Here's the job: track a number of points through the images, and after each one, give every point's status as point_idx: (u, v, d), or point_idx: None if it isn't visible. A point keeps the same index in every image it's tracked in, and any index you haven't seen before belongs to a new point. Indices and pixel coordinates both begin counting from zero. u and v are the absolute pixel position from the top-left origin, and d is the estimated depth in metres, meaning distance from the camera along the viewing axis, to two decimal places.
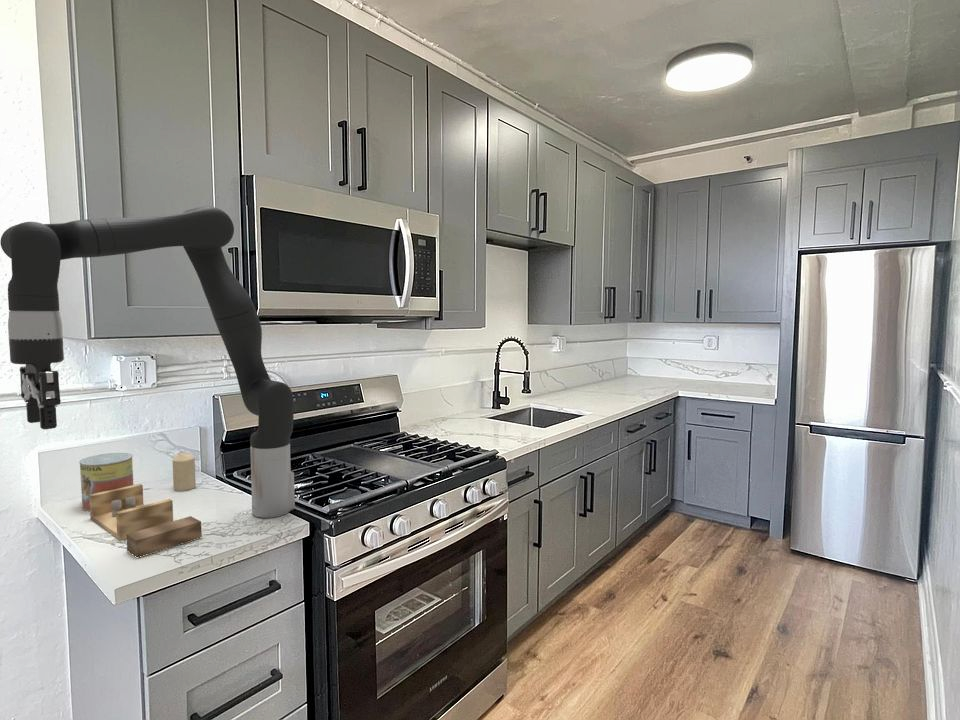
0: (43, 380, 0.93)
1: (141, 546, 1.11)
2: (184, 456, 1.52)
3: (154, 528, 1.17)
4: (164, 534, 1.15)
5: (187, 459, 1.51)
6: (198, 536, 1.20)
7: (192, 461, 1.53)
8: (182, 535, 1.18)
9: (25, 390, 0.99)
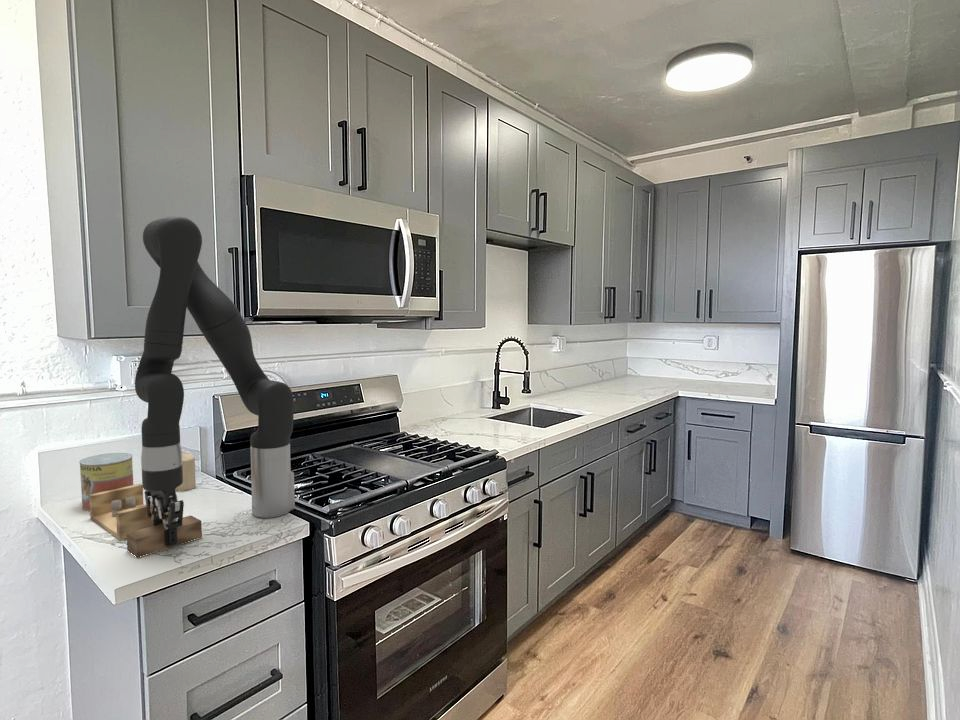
0: (172, 510, 1.12)
1: (141, 545, 1.11)
2: (184, 456, 1.52)
3: (154, 527, 1.17)
4: None
5: (187, 459, 1.51)
6: (198, 535, 1.20)
7: (192, 461, 1.53)
8: (182, 535, 1.18)
9: (153, 511, 1.17)
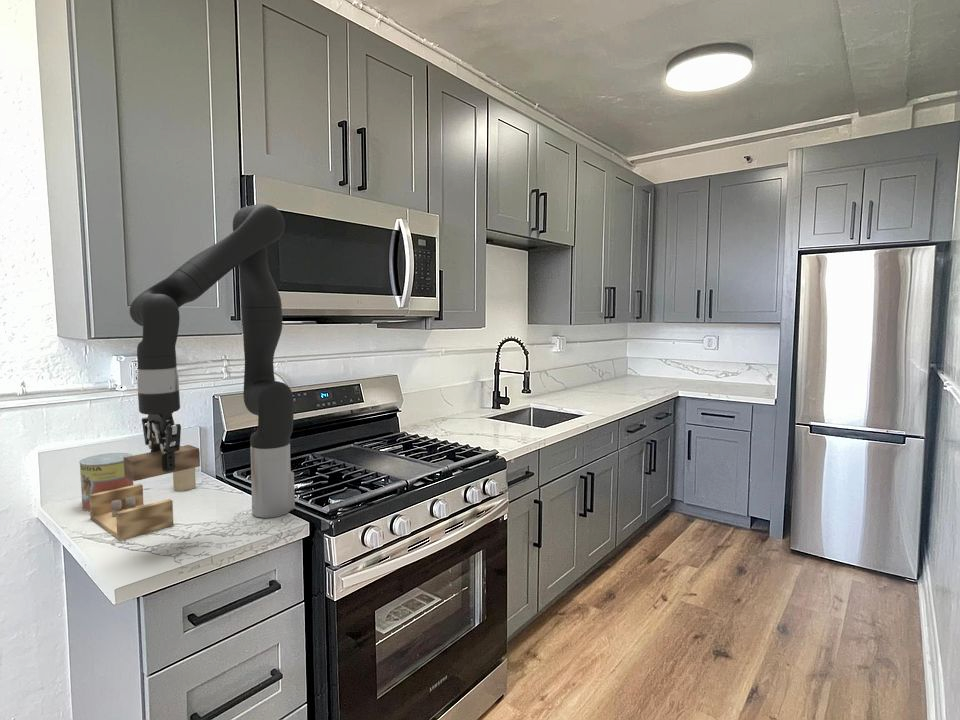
0: (169, 433, 1.10)
1: (138, 468, 1.10)
2: None
3: (151, 453, 1.15)
4: None
5: None
6: (196, 463, 1.19)
7: None
8: (179, 461, 1.16)
9: (150, 437, 1.15)
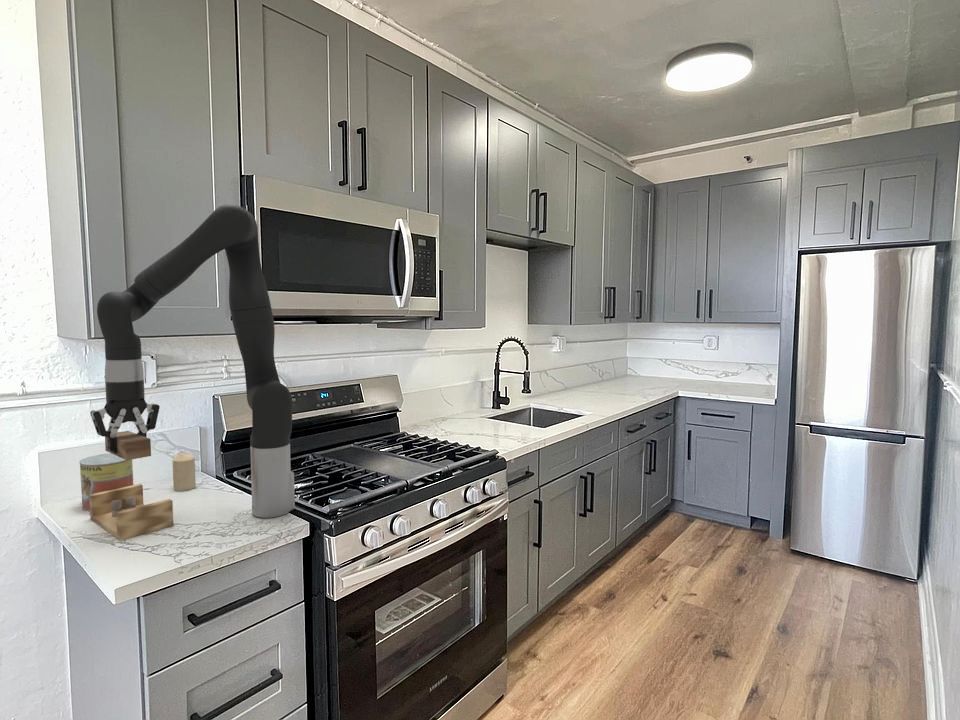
0: (92, 417, 1.22)
1: (106, 441, 1.29)
2: (184, 456, 1.52)
3: (130, 434, 1.29)
4: None
5: (187, 459, 1.51)
6: (125, 456, 1.22)
7: (192, 461, 1.53)
8: (119, 448, 1.24)
9: None
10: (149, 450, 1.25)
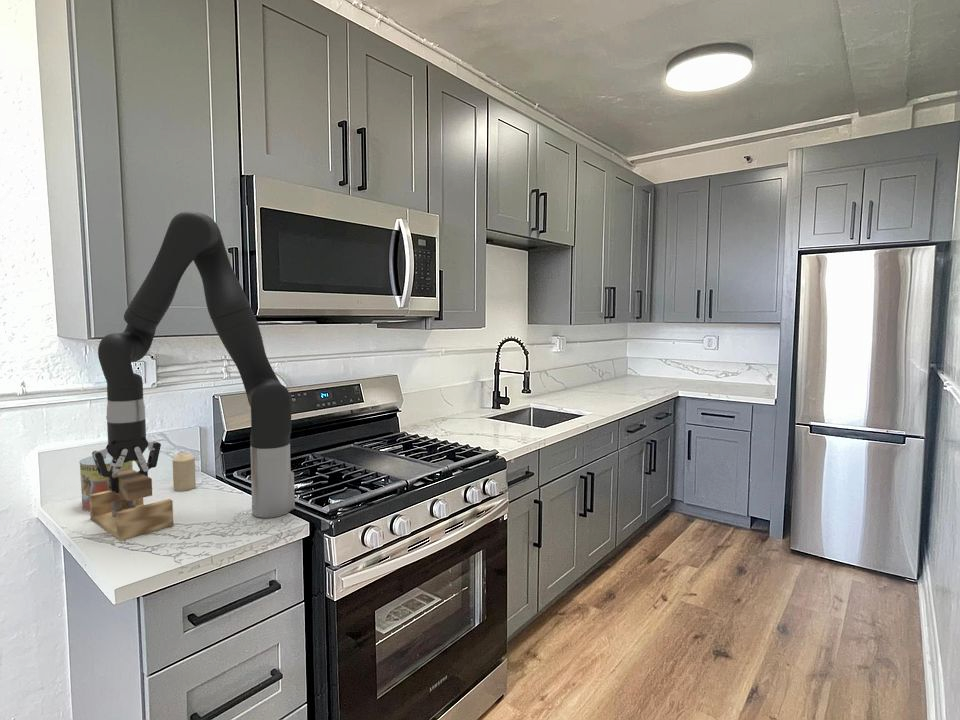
0: (94, 458, 1.23)
1: (107, 479, 1.29)
2: (184, 456, 1.52)
3: (131, 473, 1.30)
4: None
5: (187, 459, 1.51)
6: (126, 496, 1.23)
7: (192, 461, 1.53)
8: (120, 488, 1.25)
9: None
10: (150, 490, 1.26)
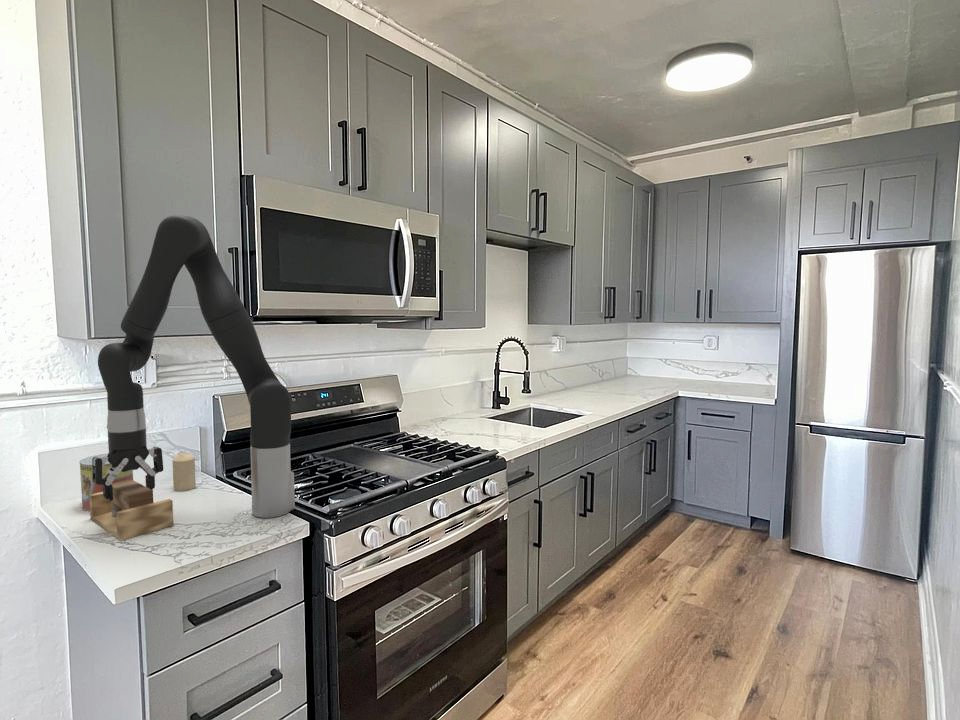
0: (92, 463, 1.23)
1: None
2: (184, 456, 1.52)
3: (133, 484, 1.30)
4: (116, 491, 1.27)
5: (187, 459, 1.51)
6: None
7: (192, 461, 1.53)
8: (122, 500, 1.25)
9: None
10: (152, 502, 1.26)
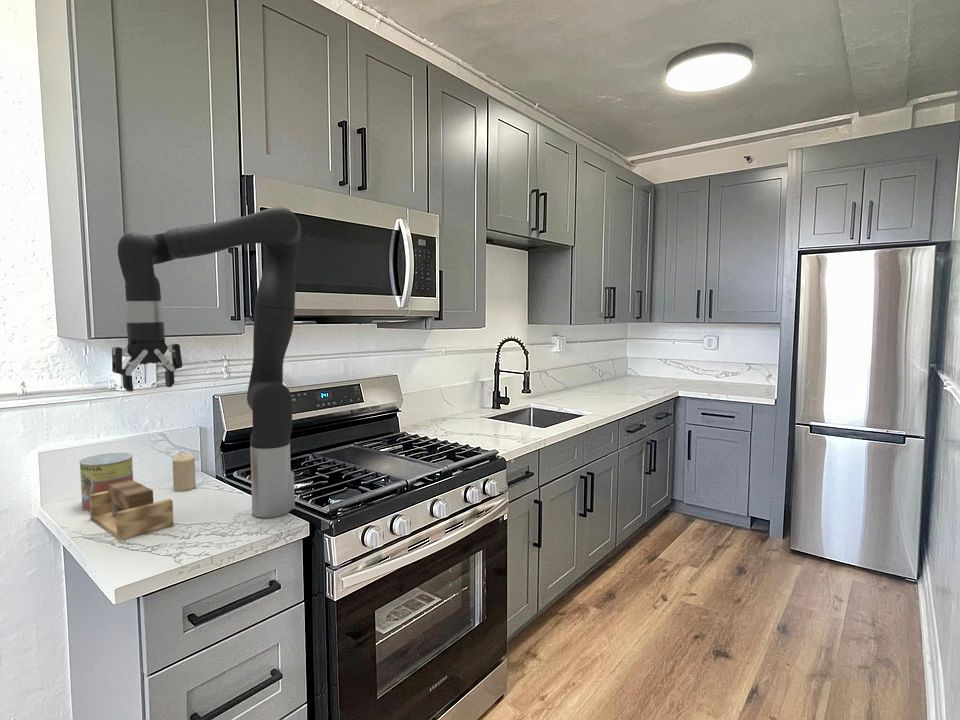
0: (112, 353, 1.23)
1: (109, 491, 1.30)
2: (184, 456, 1.52)
3: (133, 484, 1.30)
4: (116, 491, 1.27)
5: (187, 459, 1.51)
6: None
7: (192, 461, 1.53)
8: (122, 500, 1.25)
9: (157, 361, 1.31)
10: (152, 502, 1.26)
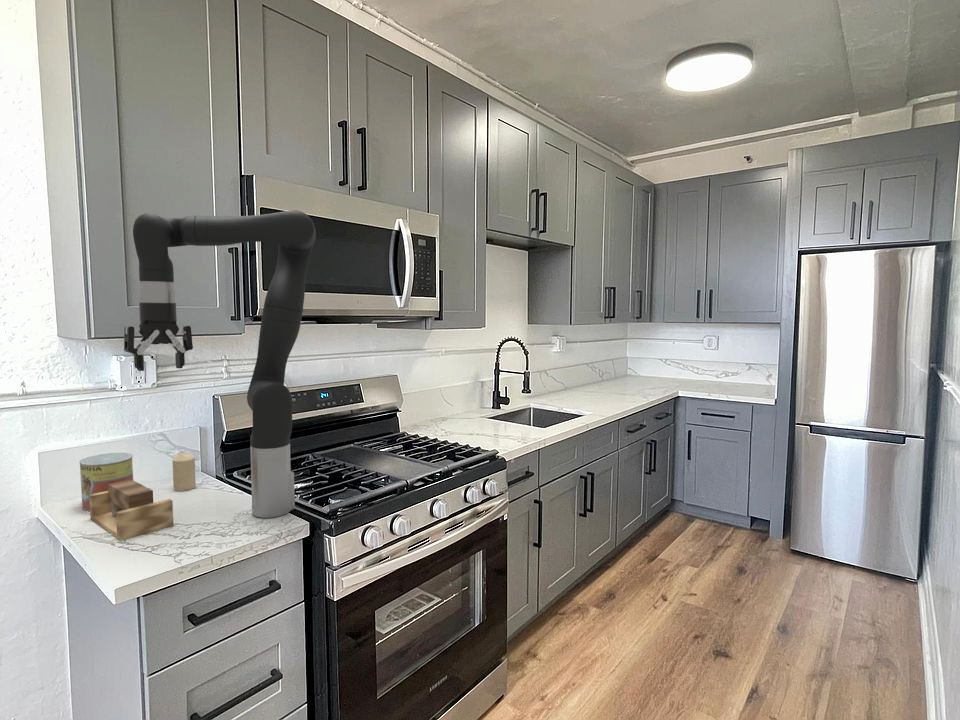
0: (125, 332, 1.24)
1: (109, 491, 1.30)
2: (184, 456, 1.52)
3: (133, 484, 1.30)
4: (116, 491, 1.27)
5: (187, 459, 1.51)
6: None
7: (192, 461, 1.53)
8: (122, 500, 1.25)
9: (168, 342, 1.32)
10: (152, 502, 1.26)
